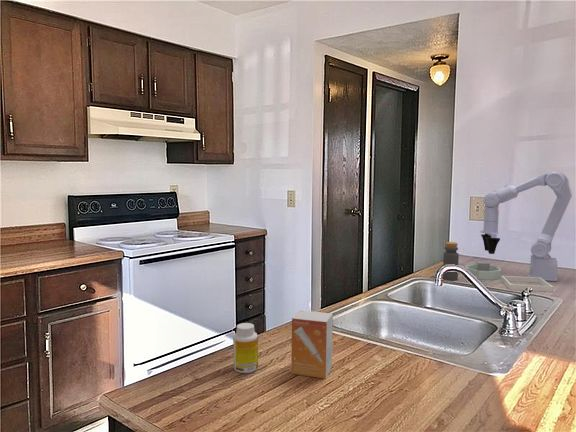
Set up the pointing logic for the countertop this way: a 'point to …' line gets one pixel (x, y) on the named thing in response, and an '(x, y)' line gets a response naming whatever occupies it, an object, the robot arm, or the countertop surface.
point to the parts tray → (545, 287)
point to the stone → (482, 266)
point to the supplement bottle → (245, 348)
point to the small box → (312, 343)
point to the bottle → (451, 260)
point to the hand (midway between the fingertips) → (489, 252)
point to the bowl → (485, 272)
